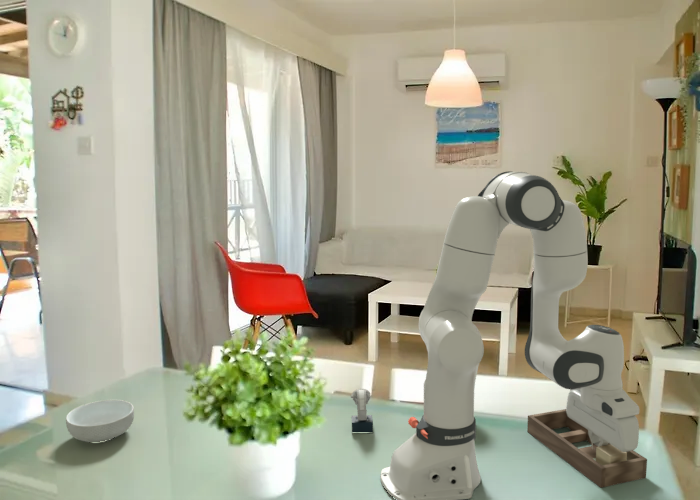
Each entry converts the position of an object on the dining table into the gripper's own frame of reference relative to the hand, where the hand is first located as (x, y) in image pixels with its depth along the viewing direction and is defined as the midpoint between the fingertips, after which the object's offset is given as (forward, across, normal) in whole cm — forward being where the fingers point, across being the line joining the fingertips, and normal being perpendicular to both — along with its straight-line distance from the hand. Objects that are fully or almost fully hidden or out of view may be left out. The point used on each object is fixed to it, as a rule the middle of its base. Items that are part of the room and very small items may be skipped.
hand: (598, 451), depth 142 cm
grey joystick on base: (+3, -36, -46) cm, 58 cm away
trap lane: (+3, -6, 0) cm, 6 cm away
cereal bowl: (+3, -56, -112) cm, 125 cm away
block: (+1, +4, 0) cm, 4 cm away
